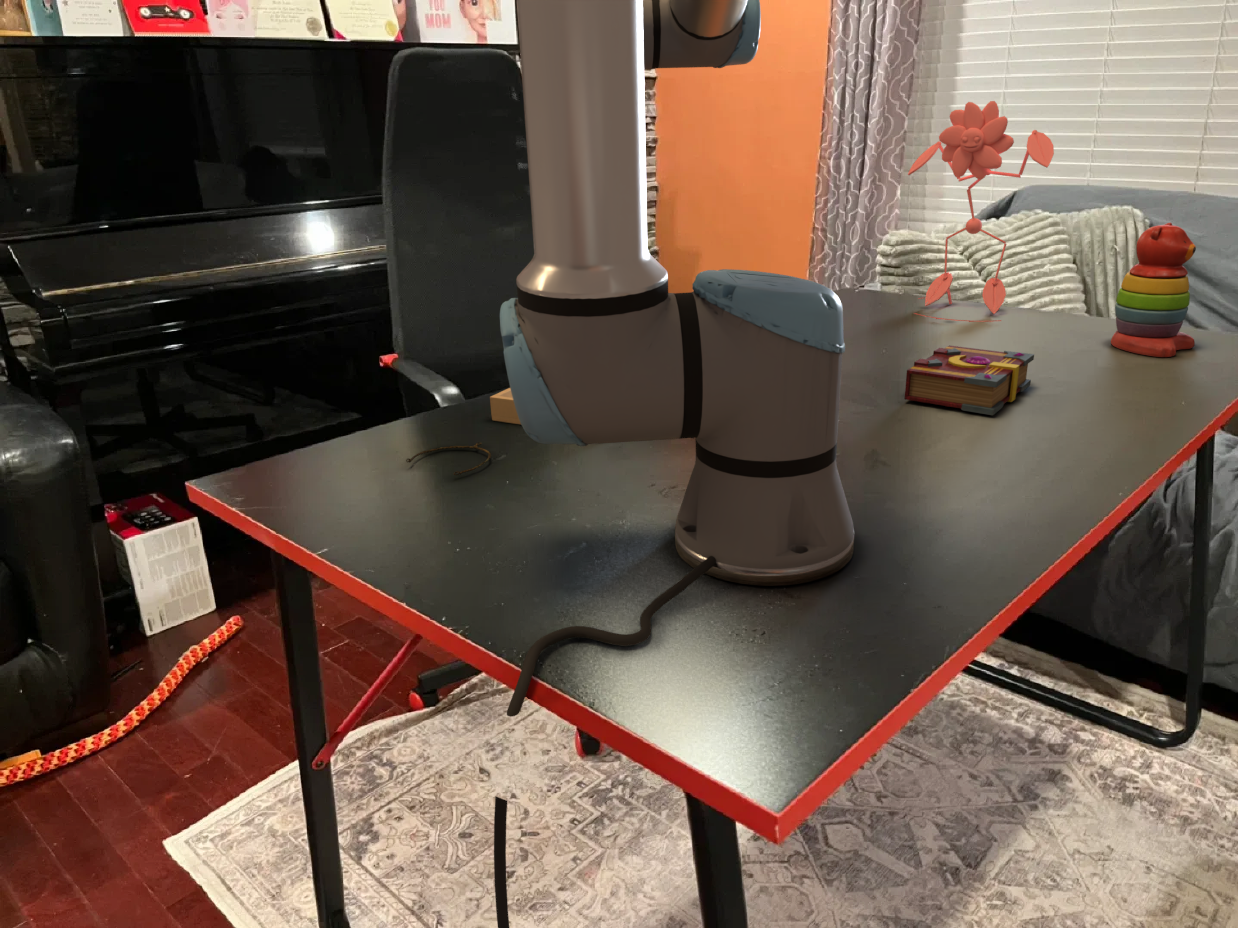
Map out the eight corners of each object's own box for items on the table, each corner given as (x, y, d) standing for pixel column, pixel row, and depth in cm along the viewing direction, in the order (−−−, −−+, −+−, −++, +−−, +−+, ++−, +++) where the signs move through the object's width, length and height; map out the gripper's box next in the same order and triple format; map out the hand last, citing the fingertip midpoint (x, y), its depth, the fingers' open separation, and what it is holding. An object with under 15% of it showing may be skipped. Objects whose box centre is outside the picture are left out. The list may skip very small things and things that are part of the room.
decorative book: (901, 403, 115) (904, 364, 113) (947, 373, 126) (951, 338, 125) (993, 418, 108) (998, 377, 106) (1033, 385, 120) (1038, 348, 118)
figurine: (912, 297, 176) (928, 102, 163) (1046, 315, 158) (1076, 97, 145) (867, 310, 166) (880, 104, 153) (1004, 330, 148) (1032, 99, 135)
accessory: (513, 452, 103) (512, 444, 102) (461, 479, 95) (460, 470, 95) (452, 441, 107) (451, 433, 107) (399, 466, 100) (398, 458, 99)
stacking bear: (1167, 359, 129) (1191, 231, 123) (1095, 347, 136) (1114, 225, 130) (1198, 346, 135) (1223, 223, 129) (1127, 335, 143) (1147, 218, 136)
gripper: (564, 132, 97) (576, 343, 105) (649, 126, 113) (653, 308, 122) (506, 133, 100) (522, 337, 109) (597, 127, 117) (604, 305, 125)
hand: (591, 322), depth 115 cm, fingers closed on poké ball, 7 cm apart
